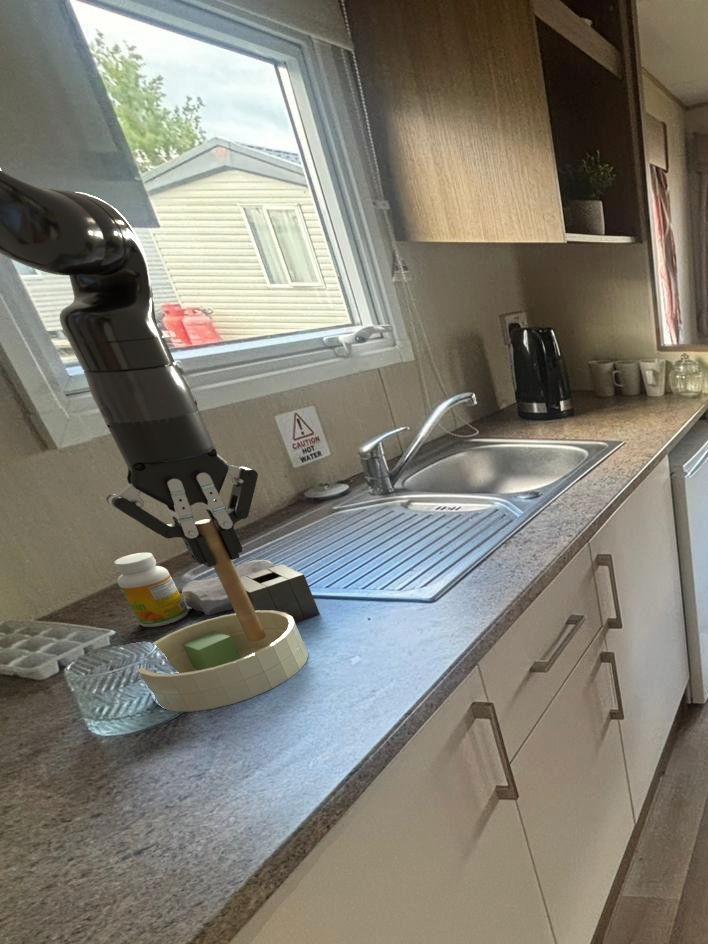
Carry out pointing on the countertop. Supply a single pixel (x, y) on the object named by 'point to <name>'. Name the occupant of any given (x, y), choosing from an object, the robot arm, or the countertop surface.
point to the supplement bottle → (149, 590)
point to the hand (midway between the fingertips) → (221, 560)
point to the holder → (281, 592)
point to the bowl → (233, 680)
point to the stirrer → (231, 581)
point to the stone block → (217, 589)
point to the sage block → (211, 650)
